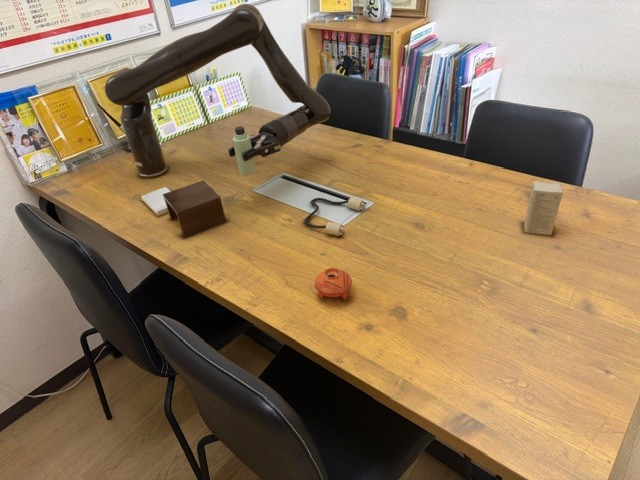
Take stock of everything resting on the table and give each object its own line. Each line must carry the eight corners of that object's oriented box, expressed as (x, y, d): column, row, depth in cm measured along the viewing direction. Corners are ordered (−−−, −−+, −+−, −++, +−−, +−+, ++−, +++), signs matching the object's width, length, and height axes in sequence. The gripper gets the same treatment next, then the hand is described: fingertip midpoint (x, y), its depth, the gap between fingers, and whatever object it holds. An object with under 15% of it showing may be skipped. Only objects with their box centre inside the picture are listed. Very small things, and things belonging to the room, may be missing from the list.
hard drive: (140, 196, 135) (156, 211, 127) (166, 186, 139) (182, 200, 131) (142, 200, 136) (158, 216, 128) (167, 190, 140) (184, 205, 132)
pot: (327, 312, 92) (320, 284, 89) (313, 296, 99) (307, 270, 96) (361, 298, 94) (355, 271, 92) (345, 283, 101) (340, 257, 98)
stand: (170, 218, 127) (162, 194, 122) (209, 204, 132) (203, 180, 127) (184, 237, 118) (177, 212, 114) (226, 221, 123) (220, 196, 119)
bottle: (236, 171, 124) (227, 128, 116) (251, 165, 126) (243, 123, 118) (243, 177, 121) (234, 133, 113) (258, 171, 122) (251, 128, 115)
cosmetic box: (550, 226, 111) (562, 183, 104) (551, 236, 108) (564, 192, 101) (523, 222, 113) (533, 180, 106) (523, 232, 110) (533, 189, 103)
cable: (288, 227, 119) (287, 216, 117) (316, 198, 130) (315, 187, 128) (341, 240, 113) (340, 229, 110) (366, 208, 124) (366, 197, 122)
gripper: (259, 115, 130) (215, 137, 119) (296, 124, 122) (253, 148, 112) (263, 139, 134) (221, 162, 124) (299, 149, 127) (258, 174, 116)
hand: (236, 155), depth 118 cm, fingers closed on bottle, 4 cm apart
